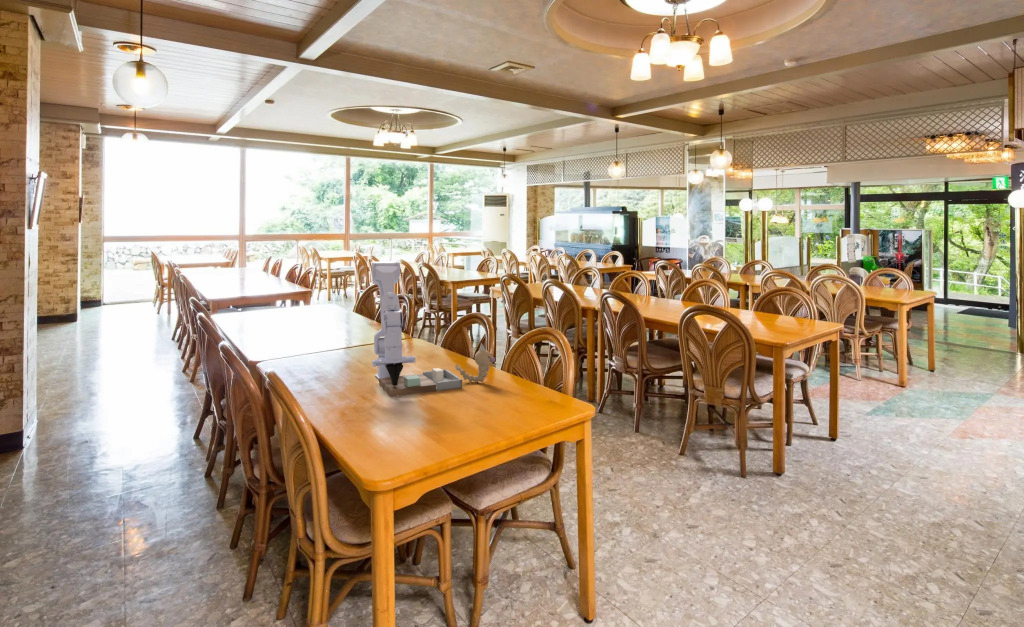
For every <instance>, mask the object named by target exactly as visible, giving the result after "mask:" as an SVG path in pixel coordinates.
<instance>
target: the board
mask: <svg viewBox="0 0 1024 627" xmlns="http://www.w3.org/2000/svg"><path fill="white" fill-rule="evenodd" d="M413 375H417V376H418V377H420V384H421V385H420V386H411V387H407V386H406V385H405V384H404V376H413ZM378 385H379V386H380V387H381V388H382V390H383V391H384V392H385V393H386V394H387V395H388V396H389V397H390V398H393V397H394V396H395V397H401V396H409V395H419V394H425V393H434V392H437V390H436V384H435V383H434V382H432V381H431V380H430V379H428V378H427V377H426V376H424V375H423V373H414V374H406V375H405V374H404V375H399V379H398V383H397V385H396V386H393V385H392V382H391V378H390V377H386V378H379V379H378Z"/></svg>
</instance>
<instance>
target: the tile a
mask: <svg viewBox="0 0 1024 627" xmlns="http://www.w3.org/2000/svg"><path fill="white" fill-rule="evenodd" d="M443 370H444V369H442V368H440V367H437V368H435V367H434V368H431V371H432V381H434V382H435V383H437V382H442V381H443Z"/></svg>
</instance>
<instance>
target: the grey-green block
mask: <svg viewBox="0 0 1024 627" xmlns="http://www.w3.org/2000/svg"><path fill="white" fill-rule="evenodd" d="M412 375H413V374H412ZM403 376H404V375H403ZM404 384H405V385H406V386H407V387H411V386H420V385H421V384H420V377H418V376H417V375H413V376H404Z"/></svg>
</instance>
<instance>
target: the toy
mask: <svg viewBox="0 0 1024 627" xmlns="http://www.w3.org/2000/svg"><path fill="white" fill-rule="evenodd" d="M495 360H496V357H494V356H493V354H492V353H491V352H490V351H488V350H486V348H485V346H484V344H483V343H482V342H480V347H479V349H478V351H477V352H476V353H475V355H474V362H475V363H476V365H477V366H478V368H477V369H478V372H477V374H478V375H475V376H474V375H472V374H469V373H468V372H466V370H465V369H462V368H461V367H460V366H459V365H458V364H457V363H455V369H456V371H458V372H459V373H460V375H461V376H462V378H463V379H464V380H465V381H466V380H468V381H469V383H472V381H473V382H474V383H475V384H477V383H479V382H480V383H483V382H484V381H485V378H486V377H487V376H488V375H489V374H488V372H489V371H490V368H491V367H490V364H491V363H494V362H495Z"/></svg>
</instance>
